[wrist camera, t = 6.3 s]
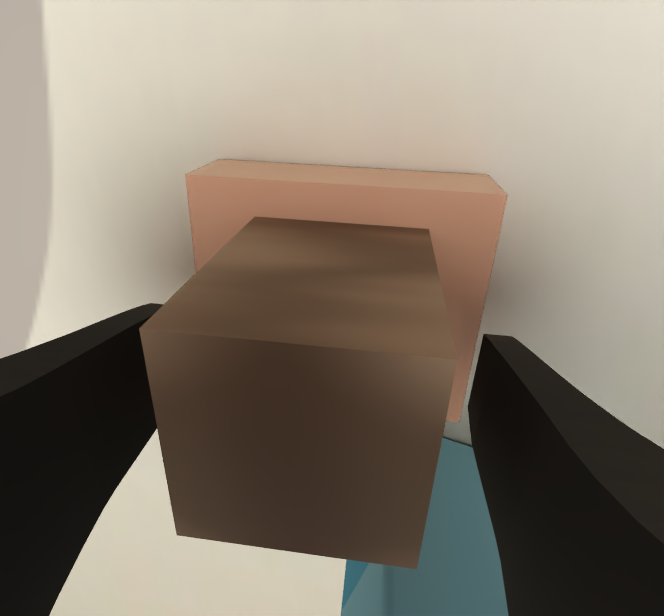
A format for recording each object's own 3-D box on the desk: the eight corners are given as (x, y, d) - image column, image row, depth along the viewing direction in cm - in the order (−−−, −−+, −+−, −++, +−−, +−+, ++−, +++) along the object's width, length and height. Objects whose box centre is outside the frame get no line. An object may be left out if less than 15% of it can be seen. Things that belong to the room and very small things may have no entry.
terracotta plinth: (488, 174, 13) (507, 194, 11) (450, 375, 16) (459, 422, 14) (219, 159, 14) (185, 174, 12) (233, 353, 17) (209, 394, 15)
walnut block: (428, 228, 11) (457, 359, 6) (408, 375, 13) (416, 569, 8) (254, 216, 12) (139, 328, 6) (260, 360, 14) (176, 535, 9)
